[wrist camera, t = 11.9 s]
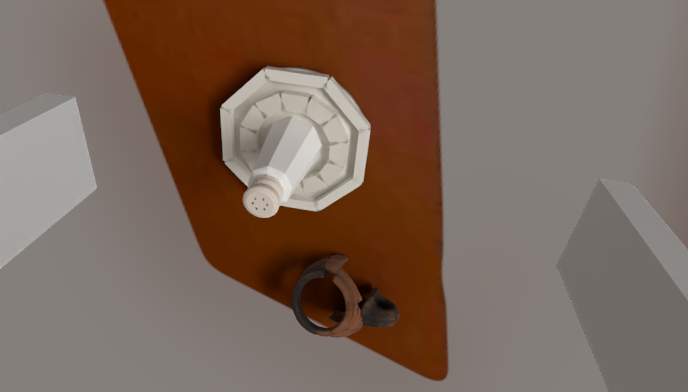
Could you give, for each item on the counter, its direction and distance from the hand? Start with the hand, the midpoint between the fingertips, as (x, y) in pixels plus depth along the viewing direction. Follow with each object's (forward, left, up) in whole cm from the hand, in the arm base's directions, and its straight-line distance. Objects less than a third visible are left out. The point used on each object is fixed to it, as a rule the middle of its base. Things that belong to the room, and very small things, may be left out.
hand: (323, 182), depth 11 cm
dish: (+13, -7, -29) cm, 32 cm away
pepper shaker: (+13, -7, -28) cm, 31 cm away
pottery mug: (+31, 0, -29) cm, 42 cm away
